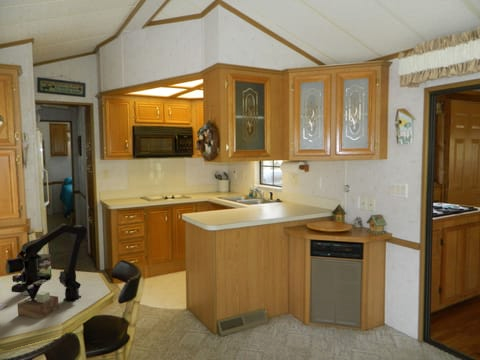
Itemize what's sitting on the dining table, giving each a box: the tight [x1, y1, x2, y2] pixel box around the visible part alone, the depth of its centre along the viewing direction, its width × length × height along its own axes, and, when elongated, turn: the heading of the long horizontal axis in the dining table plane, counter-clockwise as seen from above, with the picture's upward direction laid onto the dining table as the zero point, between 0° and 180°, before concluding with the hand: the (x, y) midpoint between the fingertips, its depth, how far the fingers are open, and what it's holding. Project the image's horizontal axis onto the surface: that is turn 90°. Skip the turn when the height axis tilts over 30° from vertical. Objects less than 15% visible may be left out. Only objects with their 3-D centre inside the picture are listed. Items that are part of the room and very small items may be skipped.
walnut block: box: [17, 295, 60, 320], centre depth 185 cm, size 12×13×6 cm
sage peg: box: [36, 290, 51, 303], centre depth 183 cm, size 4×4×6 cm
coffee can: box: [37, 253, 53, 283], centre depth 230 cm, size 10×10×14 cm
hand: (33, 299), depth 185 cm, fingers closed, pressing on steel peg
